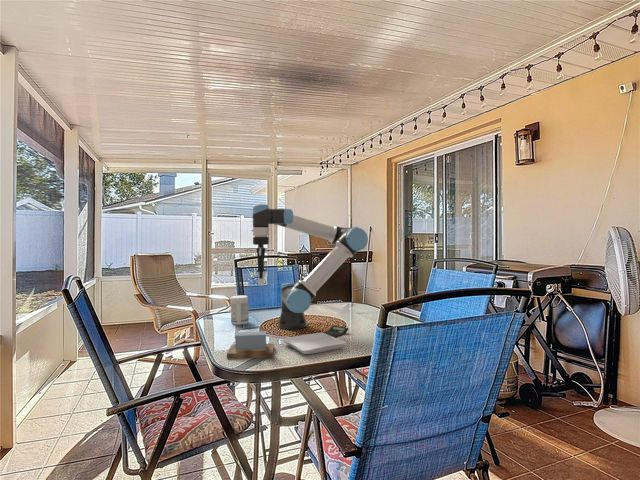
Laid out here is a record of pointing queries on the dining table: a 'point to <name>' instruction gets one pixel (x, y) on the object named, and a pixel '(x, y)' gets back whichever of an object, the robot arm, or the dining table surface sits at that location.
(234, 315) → the supplement tub
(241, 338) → the block
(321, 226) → the robot arm
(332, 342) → the salad plate
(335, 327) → the calculator
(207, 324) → the dining table surface
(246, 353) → the board
